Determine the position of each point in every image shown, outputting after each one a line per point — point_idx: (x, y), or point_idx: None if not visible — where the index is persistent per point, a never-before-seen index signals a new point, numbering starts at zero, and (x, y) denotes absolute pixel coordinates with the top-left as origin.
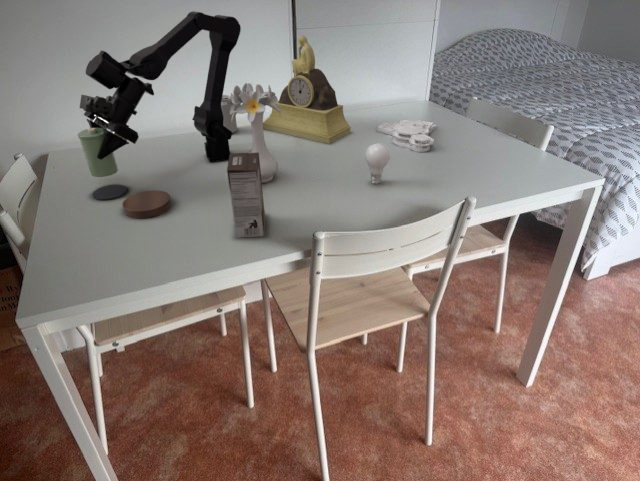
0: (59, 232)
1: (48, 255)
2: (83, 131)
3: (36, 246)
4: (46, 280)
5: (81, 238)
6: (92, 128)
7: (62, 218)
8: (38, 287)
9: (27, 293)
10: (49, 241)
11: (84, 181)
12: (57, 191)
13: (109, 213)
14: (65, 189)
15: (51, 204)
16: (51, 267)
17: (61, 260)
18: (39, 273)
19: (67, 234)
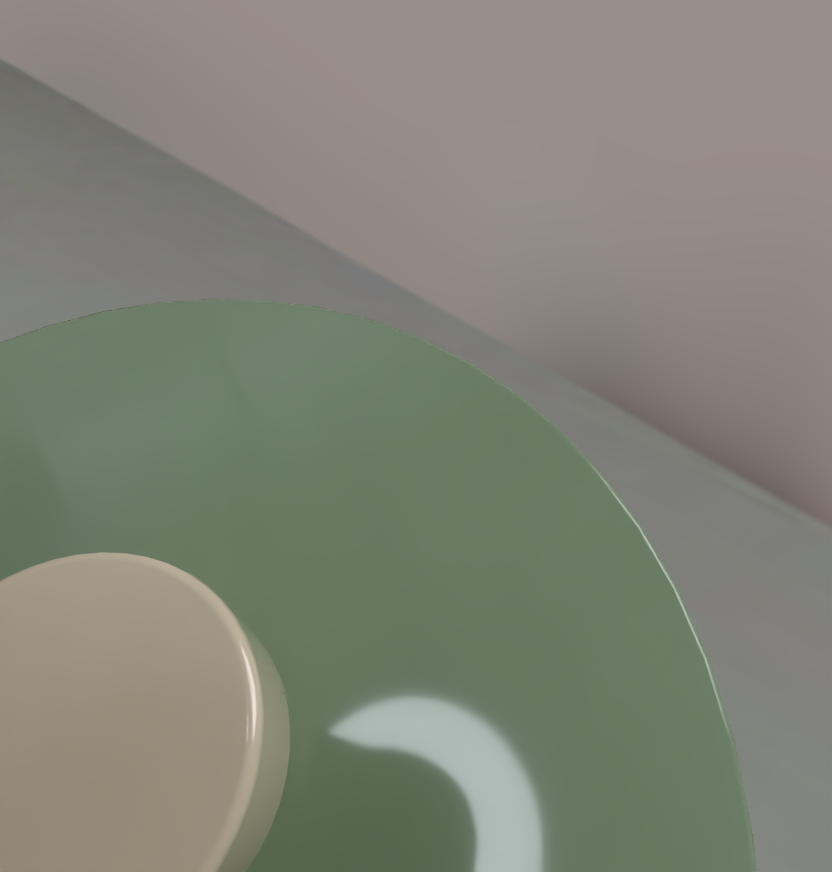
0: (234, 287)
1: (123, 182)
2: (575, 630)
3: (233, 194)
4: (2, 115)
5: (76, 301)
6: (49, 823)
7: None
8: (2, 92)
9: (16, 71)
10: (212, 232)
11: (820, 844)
12: (776, 574)
13: None
14: (766, 629)
15: (588, 435)
16: (44, 152)
17: (38, 185)
18: (61, 123)
19: (178, 293)
